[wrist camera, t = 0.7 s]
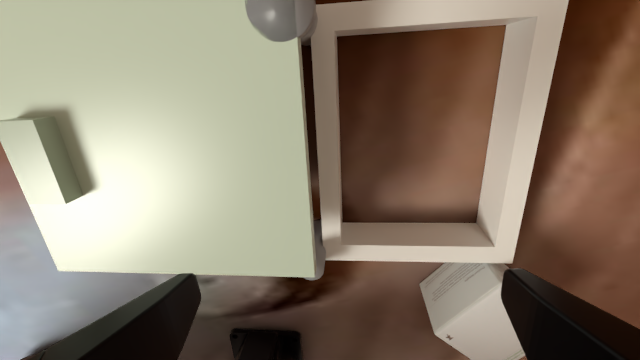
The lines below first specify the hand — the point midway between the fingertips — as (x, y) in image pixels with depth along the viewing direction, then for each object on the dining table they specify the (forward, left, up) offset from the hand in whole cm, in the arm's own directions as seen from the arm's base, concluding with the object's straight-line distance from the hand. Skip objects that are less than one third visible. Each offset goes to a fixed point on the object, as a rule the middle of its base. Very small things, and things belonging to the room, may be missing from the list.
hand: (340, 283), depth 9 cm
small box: (-10, -9, -13) cm, 19 cm away
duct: (+1, -4, -13) cm, 13 cm away
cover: (+3, +9, -6) cm, 11 cm away
